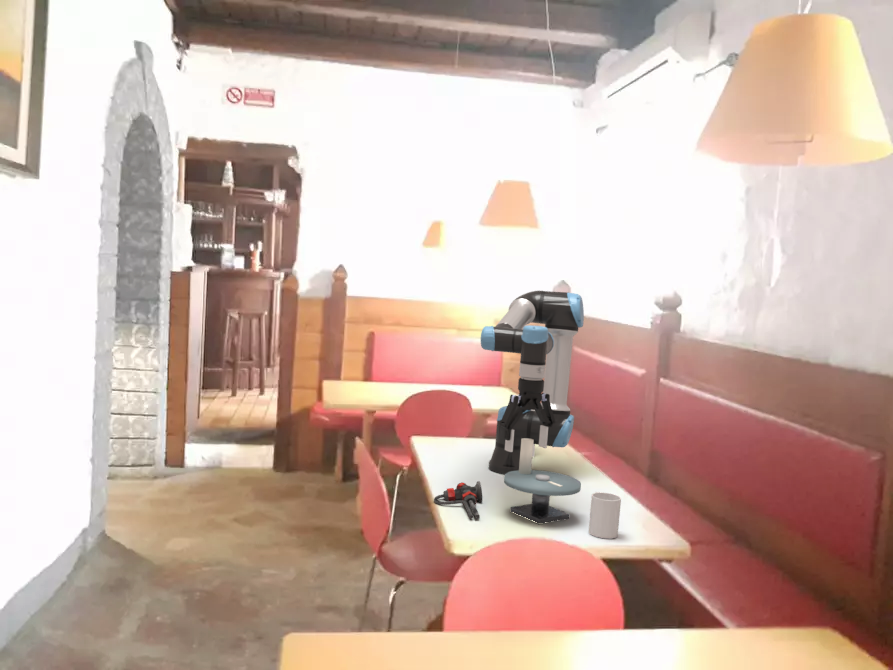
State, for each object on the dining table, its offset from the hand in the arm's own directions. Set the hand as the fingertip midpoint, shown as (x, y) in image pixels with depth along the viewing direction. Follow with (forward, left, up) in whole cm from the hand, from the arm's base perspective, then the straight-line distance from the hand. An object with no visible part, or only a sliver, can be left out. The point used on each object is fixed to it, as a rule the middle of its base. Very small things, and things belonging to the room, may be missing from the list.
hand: (525, 449), depth 230 cm
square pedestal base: (+8, 0, -18) cm, 19 cm away
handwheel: (+8, 0, -9) cm, 12 cm away
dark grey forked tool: (-8, -17, -18) cm, 26 cm away
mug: (+26, +6, -18) cm, 32 cm away
